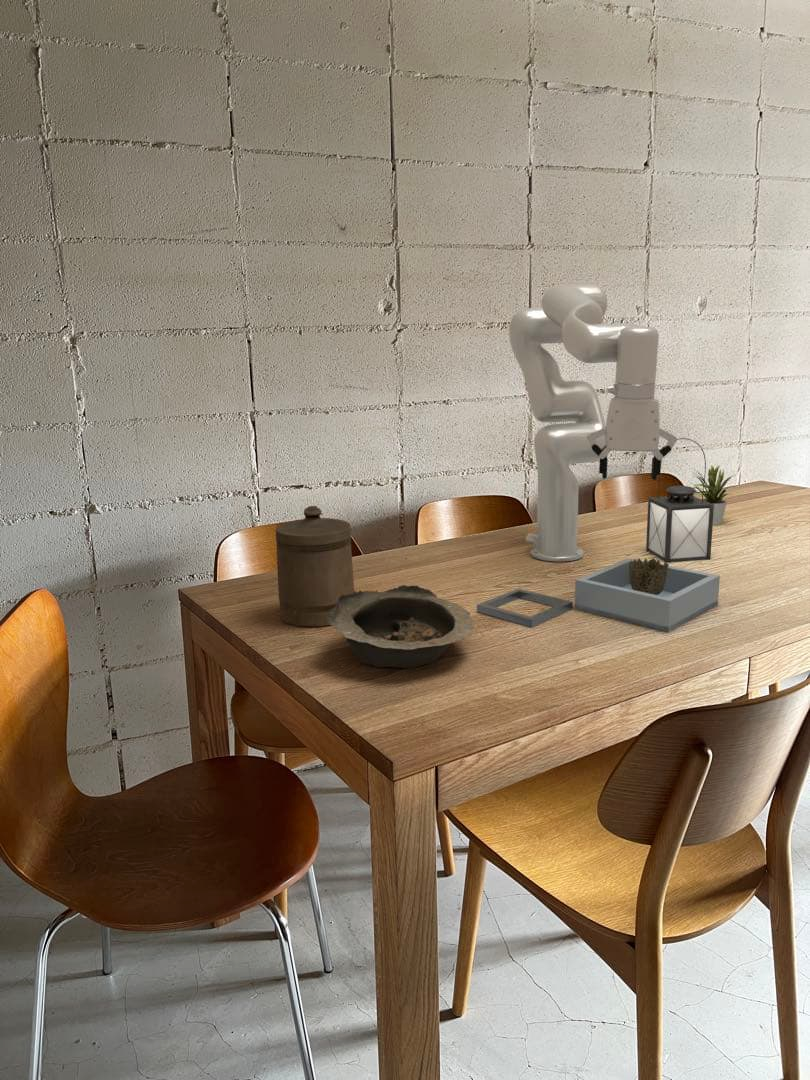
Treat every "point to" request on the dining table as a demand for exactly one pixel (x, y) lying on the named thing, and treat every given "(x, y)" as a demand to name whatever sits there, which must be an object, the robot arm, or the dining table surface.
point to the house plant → (714, 493)
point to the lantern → (680, 525)
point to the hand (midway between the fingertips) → (628, 477)
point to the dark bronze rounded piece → (648, 576)
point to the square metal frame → (491, 610)
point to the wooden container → (313, 567)
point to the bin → (647, 596)
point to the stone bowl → (399, 625)
